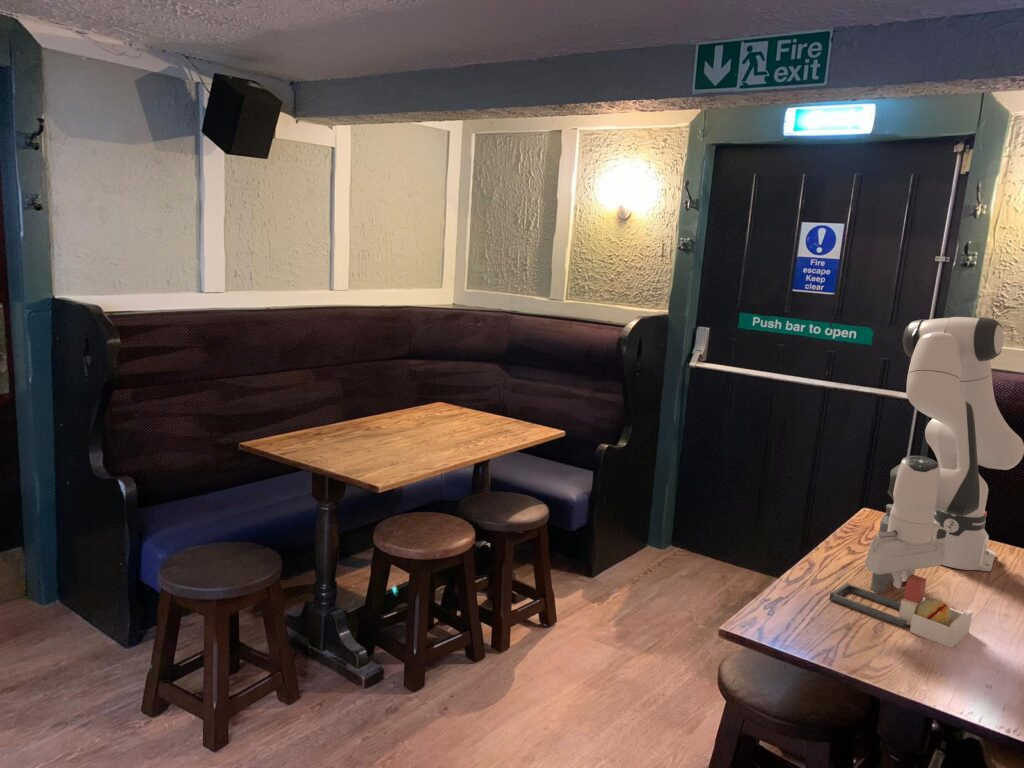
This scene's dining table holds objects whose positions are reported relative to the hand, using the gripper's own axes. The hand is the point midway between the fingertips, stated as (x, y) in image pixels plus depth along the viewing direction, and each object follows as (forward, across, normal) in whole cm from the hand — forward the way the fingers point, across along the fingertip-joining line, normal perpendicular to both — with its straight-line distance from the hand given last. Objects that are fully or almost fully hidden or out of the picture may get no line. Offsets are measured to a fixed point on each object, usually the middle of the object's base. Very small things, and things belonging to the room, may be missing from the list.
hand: (900, 586), depth 176 cm
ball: (+7, +2, -8) cm, 11 cm away
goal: (+7, +3, -9) cm, 12 cm away
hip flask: (+7, +12, +15) cm, 21 cm away
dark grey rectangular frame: (+7, -2, +5) cm, 9 cm away
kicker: (+7, +1, -3) cm, 8 cm away
